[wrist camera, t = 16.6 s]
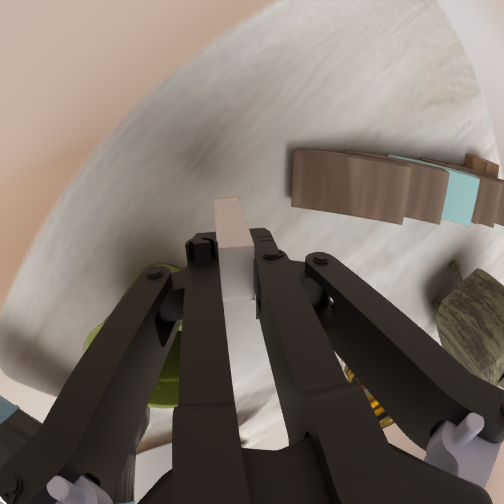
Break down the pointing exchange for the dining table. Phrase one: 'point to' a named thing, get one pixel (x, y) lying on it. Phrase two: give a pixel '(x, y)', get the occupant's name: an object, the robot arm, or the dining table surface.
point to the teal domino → (457, 194)
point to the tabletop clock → (474, 324)
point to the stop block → (481, 167)
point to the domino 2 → (421, 189)
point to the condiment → (379, 411)
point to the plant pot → (169, 375)
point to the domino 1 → (350, 185)
